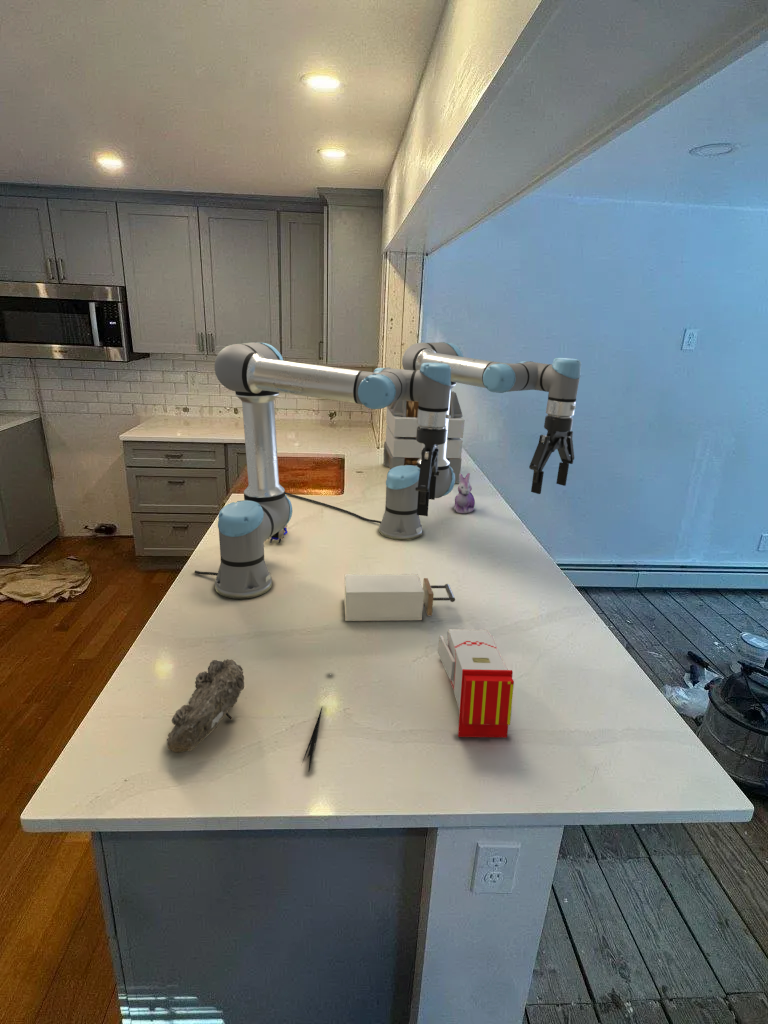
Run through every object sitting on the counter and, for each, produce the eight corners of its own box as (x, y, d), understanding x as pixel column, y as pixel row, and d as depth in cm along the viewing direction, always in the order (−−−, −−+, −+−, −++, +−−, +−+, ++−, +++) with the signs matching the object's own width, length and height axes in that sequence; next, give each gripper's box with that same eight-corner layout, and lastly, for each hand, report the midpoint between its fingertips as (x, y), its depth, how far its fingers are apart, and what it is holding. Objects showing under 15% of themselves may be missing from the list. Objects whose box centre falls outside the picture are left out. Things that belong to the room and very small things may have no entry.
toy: (488, 613, 130) (523, 677, 101) (484, 667, 133) (517, 744, 104) (435, 612, 130) (455, 676, 101) (432, 666, 133) (451, 743, 103)
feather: (331, 679, 122) (336, 673, 122) (307, 777, 96) (313, 769, 95) (324, 675, 122) (329, 669, 121) (298, 772, 95) (304, 764, 95)
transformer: (382, 463, 289) (386, 382, 275) (445, 464, 293) (451, 384, 279) (390, 482, 257) (394, 392, 243) (460, 483, 261) (468, 394, 247)
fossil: (192, 660, 117) (244, 628, 112) (224, 691, 120) (276, 661, 115) (142, 746, 98) (202, 712, 93) (182, 779, 101) (242, 748, 96)
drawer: (447, 598, 155) (449, 577, 153) (454, 615, 146) (456, 593, 144) (358, 599, 152) (359, 578, 150) (360, 616, 144) (361, 594, 142)
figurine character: (284, 549, 186) (290, 528, 199) (283, 529, 182) (290, 509, 196) (264, 549, 185) (271, 527, 199) (263, 528, 182) (270, 508, 196)
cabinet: (415, 600, 155) (417, 573, 152) (421, 620, 145) (423, 591, 142) (344, 601, 153) (344, 573, 150) (345, 620, 143) (346, 592, 140)
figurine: (461, 515, 220) (465, 478, 215) (447, 507, 229) (450, 471, 224) (481, 512, 224) (485, 476, 219) (466, 504, 233) (469, 469, 228)
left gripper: (441, 438, 130) (434, 524, 137) (451, 419, 153) (445, 494, 160) (408, 435, 131) (403, 521, 138) (424, 417, 154) (419, 491, 161)
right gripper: (547, 422, 147) (536, 500, 154) (593, 413, 163) (582, 484, 170) (522, 417, 152) (513, 493, 159) (570, 409, 168) (559, 478, 176)
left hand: (426, 506), depth 149 cm, fingers open, 13 cm apart
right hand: (548, 488), depth 165 cm, fingers open, 13 cm apart
